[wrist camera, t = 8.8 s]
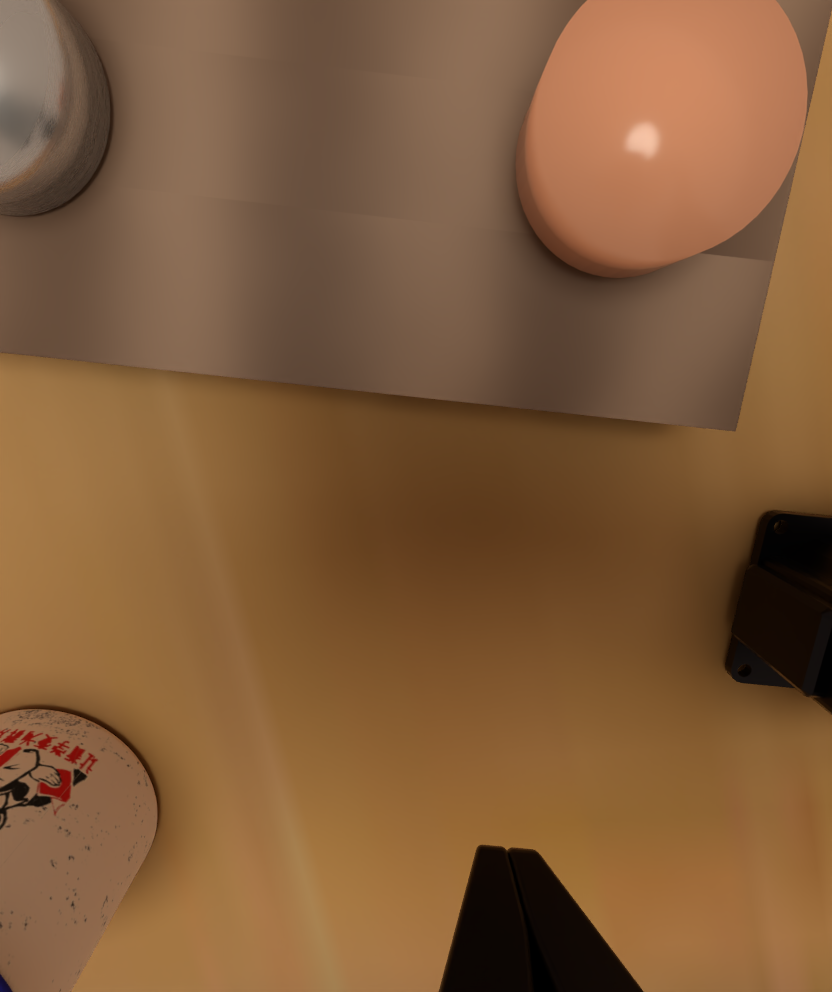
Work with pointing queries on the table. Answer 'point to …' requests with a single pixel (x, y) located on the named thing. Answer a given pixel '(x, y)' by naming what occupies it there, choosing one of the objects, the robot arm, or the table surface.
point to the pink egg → (659, 130)
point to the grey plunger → (48, 107)
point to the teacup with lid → (64, 843)
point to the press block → (364, 218)
